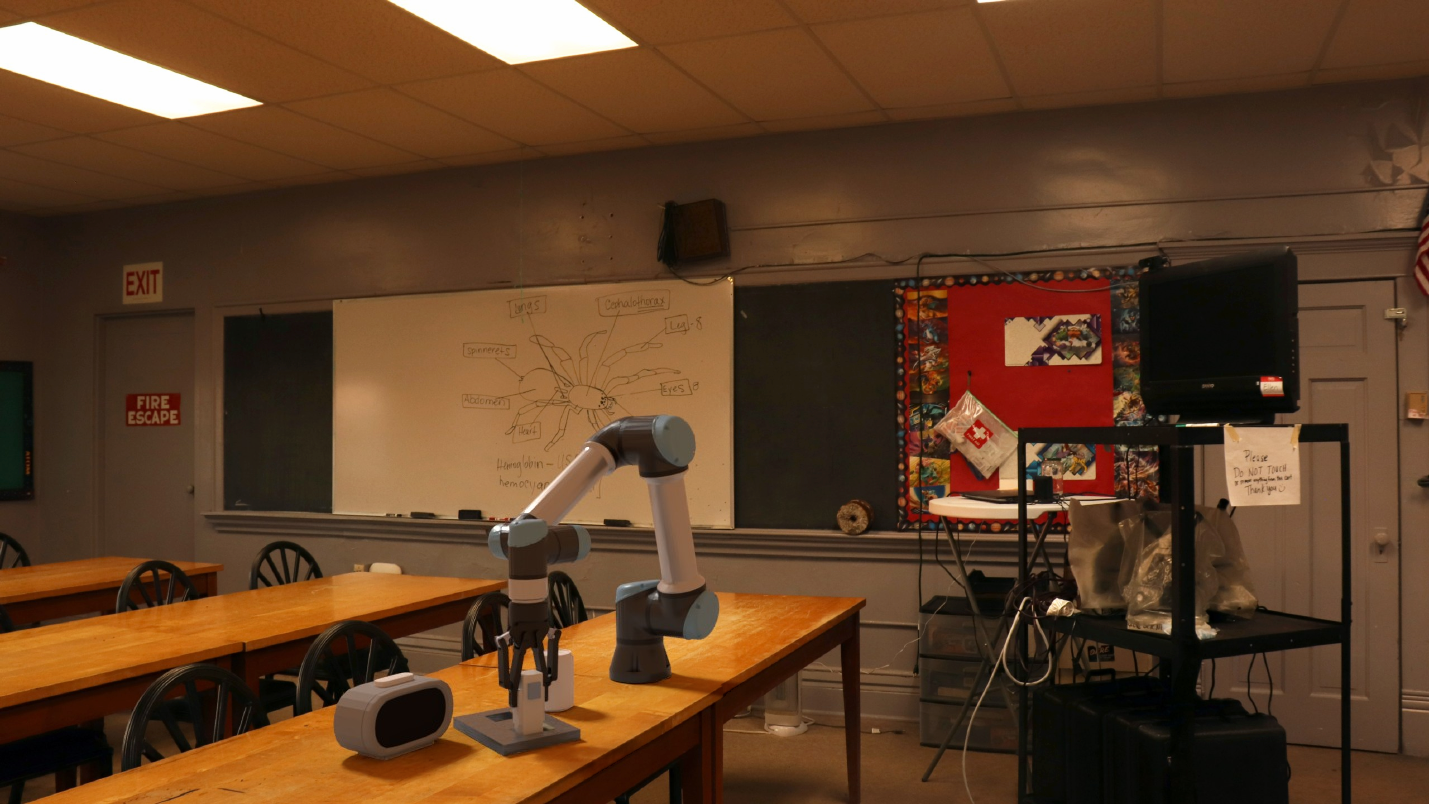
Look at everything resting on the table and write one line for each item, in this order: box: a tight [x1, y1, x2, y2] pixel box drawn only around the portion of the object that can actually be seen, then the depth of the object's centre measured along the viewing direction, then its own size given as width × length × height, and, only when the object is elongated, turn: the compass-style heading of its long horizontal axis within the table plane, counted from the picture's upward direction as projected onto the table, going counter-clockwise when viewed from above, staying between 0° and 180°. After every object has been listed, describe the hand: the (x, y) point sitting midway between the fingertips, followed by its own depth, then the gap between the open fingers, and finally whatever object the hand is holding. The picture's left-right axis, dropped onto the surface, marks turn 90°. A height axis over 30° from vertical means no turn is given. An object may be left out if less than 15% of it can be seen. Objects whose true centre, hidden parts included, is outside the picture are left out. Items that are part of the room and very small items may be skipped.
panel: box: [452, 706, 582, 757], centre depth 195 cm, size 16×24×2 cm, turn 37°
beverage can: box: [544, 648, 575, 713], centre depth 214 cm, size 8×8×12 cm
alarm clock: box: [333, 672, 454, 762], centre depth 187 cm, size 21×10×13 cm, turn 148°
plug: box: [515, 668, 543, 736], centre depth 191 cm, size 4×5×12 cm
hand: (528, 721), depth 191 cm, fingers closed on plug, 4 cm apart
